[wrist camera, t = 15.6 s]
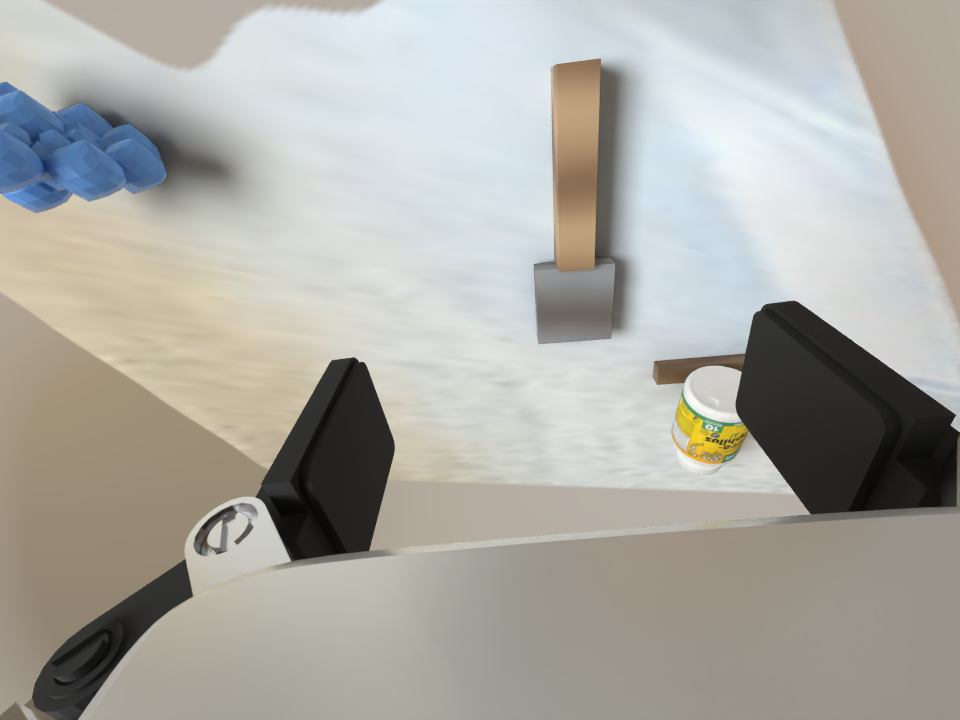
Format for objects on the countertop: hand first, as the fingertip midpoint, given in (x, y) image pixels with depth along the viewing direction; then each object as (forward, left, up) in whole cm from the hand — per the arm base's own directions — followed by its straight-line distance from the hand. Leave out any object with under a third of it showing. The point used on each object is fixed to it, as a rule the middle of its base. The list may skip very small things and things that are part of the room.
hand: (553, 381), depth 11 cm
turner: (+2, +4, -23) cm, 23 cm away
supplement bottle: (+14, +15, -18) cm, 27 cm away
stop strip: (+15, +16, -23) cm, 32 cm away
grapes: (-7, -27, -23) cm, 36 cm away
